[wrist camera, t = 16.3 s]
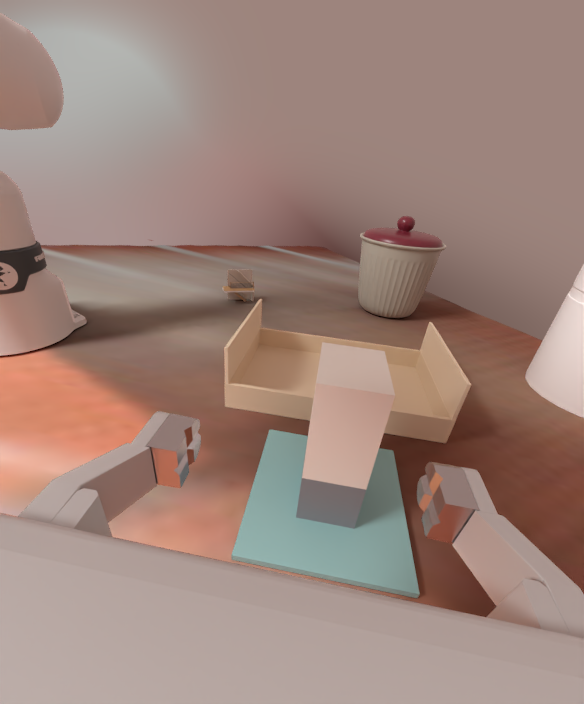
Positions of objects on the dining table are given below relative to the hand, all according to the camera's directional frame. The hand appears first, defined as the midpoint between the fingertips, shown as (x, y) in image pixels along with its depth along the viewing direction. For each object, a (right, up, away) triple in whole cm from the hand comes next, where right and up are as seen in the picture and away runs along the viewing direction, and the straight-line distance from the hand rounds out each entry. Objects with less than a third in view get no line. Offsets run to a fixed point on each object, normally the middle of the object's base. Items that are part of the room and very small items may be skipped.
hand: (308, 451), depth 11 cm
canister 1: (+22, +13, +65) cm, 70 cm away
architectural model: (-13, +15, +62) cm, 65 cm away
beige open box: (+6, -1, +35) cm, 35 cm away
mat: (+3, -10, +19) cm, 21 cm away
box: (+3, -10, +18) cm, 21 cm away
